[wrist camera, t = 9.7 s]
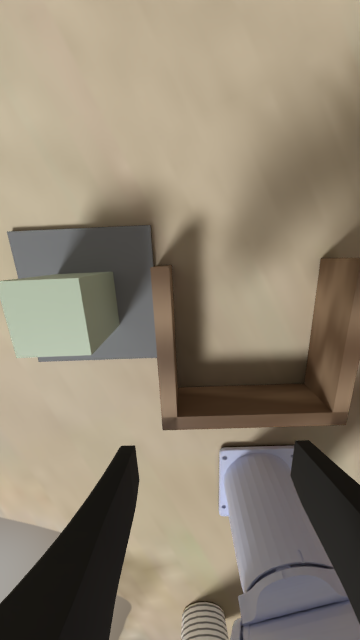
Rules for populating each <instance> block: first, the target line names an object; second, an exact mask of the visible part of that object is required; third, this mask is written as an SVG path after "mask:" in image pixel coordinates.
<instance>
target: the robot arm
mask: <svg viewBox="0 0 360 640" xmlns="http://www.w3.org/2000/svg"><path fill="white" fill-rule="evenodd" d="M292 454H293V455H292ZM223 456H225V457H223ZM138 486H139V473H138V465H137V458H136V450H135V446H121V447H120V448H119V450H118V451H117V453H116V455H115V456H114V458H113V460H112V461H111V463H110V465H109V466H108V468H107V469H106V471H105V472H104V474H103V476H102V477H101V479H100V480H99V482H98V483H97V485H96V486H95V488H94V489H93V490H92V492H91V493H90V495H89V496H88V498H87V499H86V501H85V502H84V503H83V505H82V506H81V507H80V509H79V510H78V511H77V513H76V514H75V516H74V517H73V518H72V520H71V521H70V522H69V524H68V525H67V526H66V528H65V529H64V530H63V531H62V533H61V534H60V535H59V537H58V538H57V539H56V540H55V542H54V543H53V544H52V545H51V546H50V548H49V549H48V550H47V551H46V552H45V554H44V555H43V556H42V557H41V558H40V560H39V561H38V562H37V563H36V564H35V565H34V567H33V568H32V569H31V570H30V571H29V572H28V573H27V575H26V576H25V577H24V578H23V579H22V580H21V581H20V583H19V584H18V585H17V586H16V587H15V588H14V589H13V590H12V592H11V593H10V594H9V595H8V596H7V597H6V598H5V599H4V600H3V601H2V602H1V603H0V640H109V635H110V629H111V623H112V617H113V610H114V604H115V599H116V594H117V589H118V584H119V579H120V575H121V570H122V566H123V561H124V557H125V553H126V548H127V544H128V539H129V535H130V530H131V526H132V521H133V517H134V512H135V508H136V501H137V493H138ZM219 514H220V515H221V516H229V521H230V526H231V532H232V537H233V543H234V548H235V554H236V559H237V565H238V570H239V575H240V581H241V585H242V589H243V592H244V594H241V595H239V596H238V600H239V606H240V612H241V618H239V619H237V620H235V621H234V624H233V627H232V633H231V638H230V640H360V485H359V484H358V483H357V482H356V481H355V480H353V479H352V478H351V477H350V476H349V475H348V474H346V473H345V472H344V471H343V470H342V469H341V468H340V467H338V466H337V465H336V464H335V463H334V462H333V461H332V460H330V459H329V458H328V457H327V456H326V455H325V454H324V453H323V452H321V451H320V450H319V449H318V448H317V447H316V446H315V445H314V444H312V443H311V442H310V441H309V440H306V441H295V445H294V446H259V447H224V448H221V449H220V451H219Z"/></svg>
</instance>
